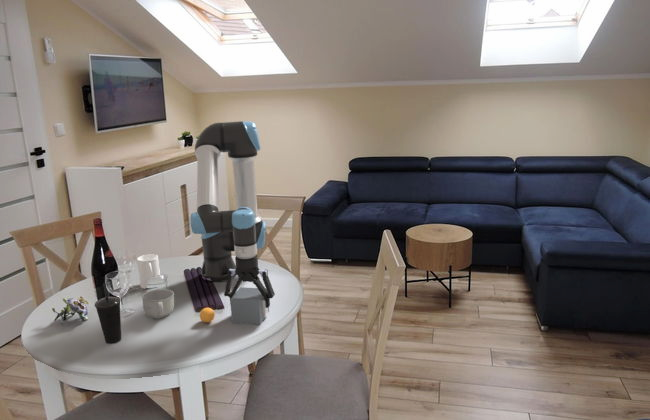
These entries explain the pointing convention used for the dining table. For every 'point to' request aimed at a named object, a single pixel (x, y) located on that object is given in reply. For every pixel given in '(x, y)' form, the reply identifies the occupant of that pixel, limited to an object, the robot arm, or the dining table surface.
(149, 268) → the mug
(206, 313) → the ball
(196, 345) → the dining table surface
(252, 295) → the grey matte cube
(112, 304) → the drinking cup
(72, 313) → the passion flower
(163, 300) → the teacup
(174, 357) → the dining table surface
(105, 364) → the dining table surface
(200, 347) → the dining table surface
